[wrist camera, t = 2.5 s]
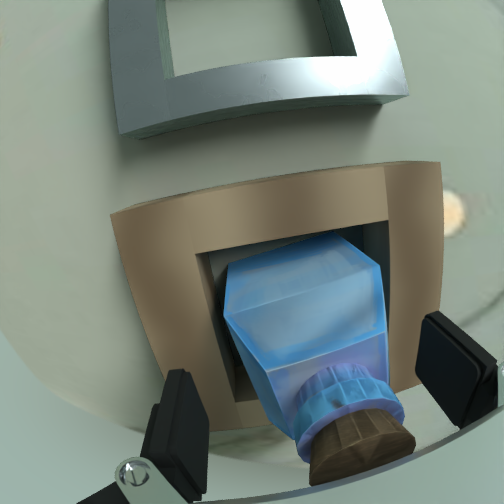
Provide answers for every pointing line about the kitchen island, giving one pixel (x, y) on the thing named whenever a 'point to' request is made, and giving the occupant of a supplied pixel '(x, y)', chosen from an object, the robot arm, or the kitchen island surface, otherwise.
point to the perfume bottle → (319, 353)
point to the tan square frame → (269, 228)
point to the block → (247, 71)
